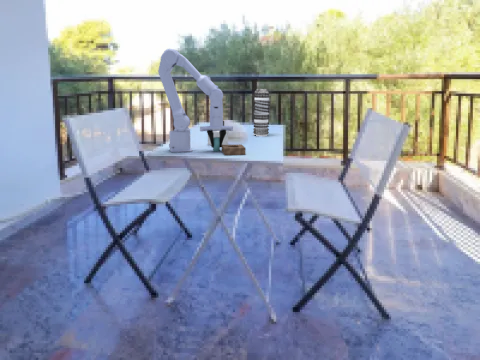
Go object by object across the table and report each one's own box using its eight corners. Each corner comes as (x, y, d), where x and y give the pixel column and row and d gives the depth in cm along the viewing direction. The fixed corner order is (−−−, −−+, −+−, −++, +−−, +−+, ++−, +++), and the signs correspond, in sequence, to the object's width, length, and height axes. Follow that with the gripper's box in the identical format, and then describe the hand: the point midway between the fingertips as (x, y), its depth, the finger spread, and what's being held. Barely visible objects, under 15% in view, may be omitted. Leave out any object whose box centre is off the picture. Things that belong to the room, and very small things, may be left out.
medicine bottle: (228, 144, 226) (228, 120, 224) (217, 146, 221) (217, 121, 218) (218, 143, 231) (218, 118, 228) (207, 144, 226) (207, 119, 223)
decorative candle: (251, 136, 254) (252, 89, 248) (253, 133, 263) (254, 88, 257) (268, 136, 253) (269, 89, 247) (270, 134, 262) (271, 88, 256)
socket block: (224, 155, 200) (224, 148, 200) (221, 151, 209) (221, 144, 208) (245, 154, 202) (245, 147, 201) (241, 151, 211) (241, 144, 210)
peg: (213, 151, 209) (213, 138, 207) (212, 150, 212) (212, 137, 210) (220, 151, 209) (220, 138, 208) (219, 150, 212) (219, 137, 211)
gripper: (201, 117, 202) (201, 149, 205) (234, 117, 204) (234, 148, 208) (199, 116, 208) (199, 146, 212) (231, 115, 211) (231, 145, 214)
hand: (216, 147), depth 210 cm, fingers closed on peg, 3 cm apart
